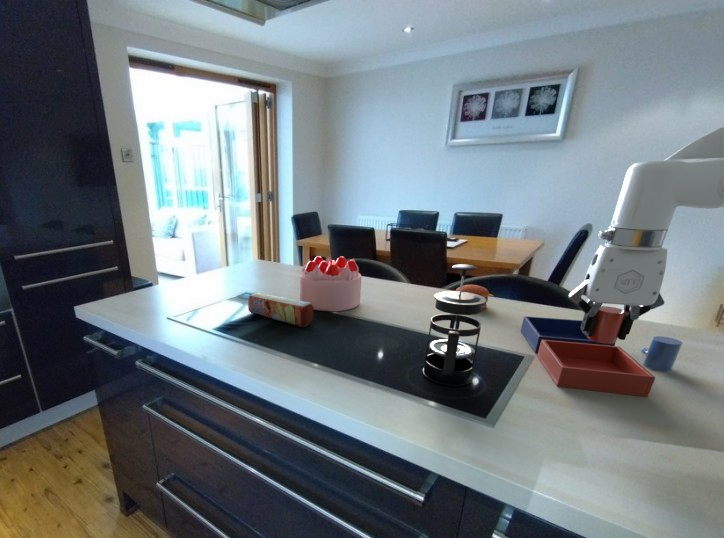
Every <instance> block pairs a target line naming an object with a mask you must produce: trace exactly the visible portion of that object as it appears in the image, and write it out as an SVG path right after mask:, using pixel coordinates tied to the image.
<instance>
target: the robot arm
mask: <svg viewBox="0 0 724 538" xmlns="http://www.w3.org/2000/svg"><path fill="white" fill-rule="evenodd" d="M678 207H683V208H684V207H685V208H694V209H695V208H696V209H719V208H724V125H722V126H719V127H717V128H715V129H713V130H711V131H709V132H707V133H706V134H703V135H702V136H700V137H698V138H696V139H695V140H693V141H691V142H689V143H687V144H686V145H685V146H683V147H682V148H680V149H679V150H677V151H675V152H674V153H673V154H671V155H670V156H668V157H666V159H664V160H646V161H637V162H635V163H633V164H631V165H630V166H629V167H628V169H627V170H626V173H625V176H624V179H623V183H622V186H621V189H620V191H619V195H618V199H617V202H616V205H615V209H614V213H613V215H612V219H611V222H610V225H609V226H608V228H607V230H600V231H599V232H598V233H597V239H599V240H603V241H604V243H601V244H600V245H599V247H598V248H597V249H596V251H595V253H594V254H593V255H594V256H593V257H592V260H590V263H589V266H588V268H587V271H586V272H585V276H584V278H583V282H582V283H580V285H579V286H577V287H576V288H575V289H573V290H572V291H571V292H569V294H568V295H567V298H568V299H569V300H571V301H572V302H574V303H575V304H576V305H577V306H578V307H579V308H580V309H581V311H582V312H583V313H584V315H583V318H582V324H581V330H582V332H583V333H584V334H585V335H586V336H587V337H591V336H593V333H594V330H595V326H596V323H597V320H598V318H597V317H596V313H597V312H598V310H599V308H600V307H601V306H603V304H607V305H622V306H623V310H624V311H626V314H625V317H624V320H623V323H622V326H621V329H620V332H619V335H618V338H617V339H618V340H620V341H625V340H626V337H627V335H630V333H631V329H632V327H633V324H634V321H637V320H638V319H639V318H640V317H641V316H643V315H645V314H647V313H648V312H650V311H651V310H654V309H657V308H659V307H661V306H664V305H665V300H664V298H663V296H662V294H661V289H662V285H663V282H664V277H665V273H666V268H667V262H668V248H666V247H663V245H664V242H665V239H666V236H667V233H668V231H669V228H670V226H671V222H672V220H673V217H674V214H675V211H676V209H677V208H678ZM582 296H584V297H586V298H587V301H585V300H584V299H583V298H582Z"/></svg>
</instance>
